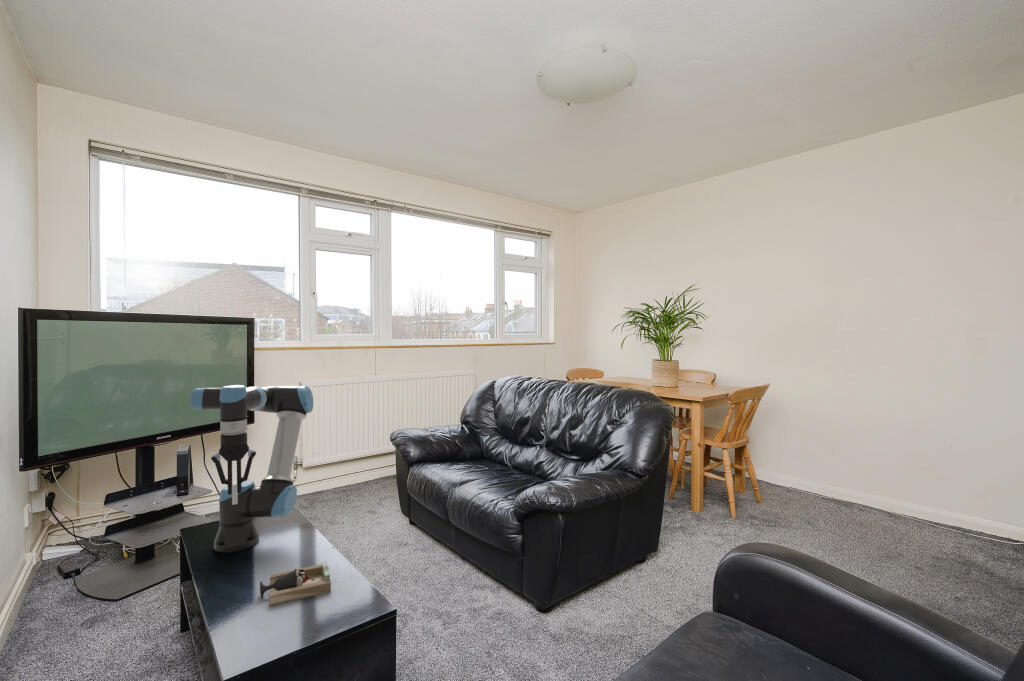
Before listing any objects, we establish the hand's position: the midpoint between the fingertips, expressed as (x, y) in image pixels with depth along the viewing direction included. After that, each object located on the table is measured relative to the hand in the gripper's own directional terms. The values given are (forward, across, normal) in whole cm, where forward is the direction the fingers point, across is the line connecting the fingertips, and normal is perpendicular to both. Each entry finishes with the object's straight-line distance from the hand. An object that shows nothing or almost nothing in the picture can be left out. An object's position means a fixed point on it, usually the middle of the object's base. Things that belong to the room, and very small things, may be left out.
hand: (234, 502), depth 151 cm
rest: (+25, +18, -17) cm, 35 cm away
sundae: (+23, +7, -17) cm, 29 cm away
